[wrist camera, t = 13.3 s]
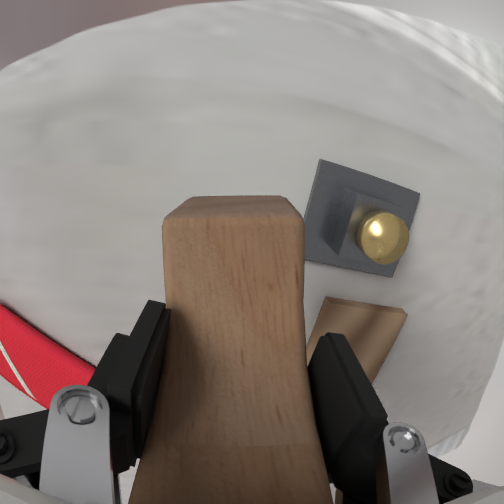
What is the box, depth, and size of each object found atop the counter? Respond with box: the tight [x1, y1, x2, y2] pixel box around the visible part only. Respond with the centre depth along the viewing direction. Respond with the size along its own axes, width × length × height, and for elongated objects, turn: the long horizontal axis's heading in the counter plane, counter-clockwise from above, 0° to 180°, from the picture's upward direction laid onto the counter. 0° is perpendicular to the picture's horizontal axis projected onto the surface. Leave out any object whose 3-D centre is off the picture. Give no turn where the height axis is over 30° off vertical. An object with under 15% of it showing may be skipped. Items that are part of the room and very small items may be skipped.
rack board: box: [306, 297, 407, 384], centre depth 35 cm, size 11×14×2 cm
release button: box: [357, 210, 409, 264], centre depth 25 cm, size 4×4×2 cm
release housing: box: [303, 159, 420, 277], centre depth 29 cm, size 12×10×4 cm
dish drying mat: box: [0, 304, 96, 409], centre depth 36 cm, size 16×41×4 cm, turn 54°
